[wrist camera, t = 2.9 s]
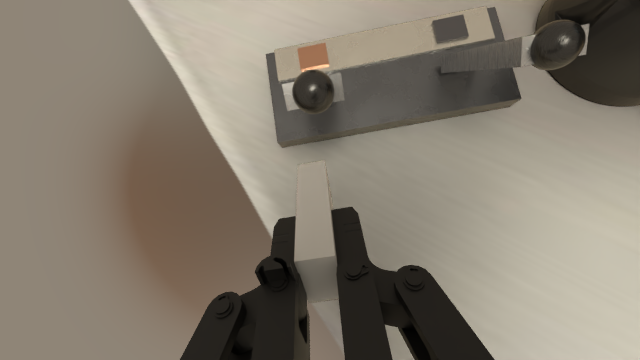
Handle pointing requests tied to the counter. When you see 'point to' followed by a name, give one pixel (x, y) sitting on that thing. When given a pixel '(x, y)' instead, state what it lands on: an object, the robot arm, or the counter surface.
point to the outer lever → (313, 91)
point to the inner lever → (525, 50)
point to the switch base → (392, 77)
